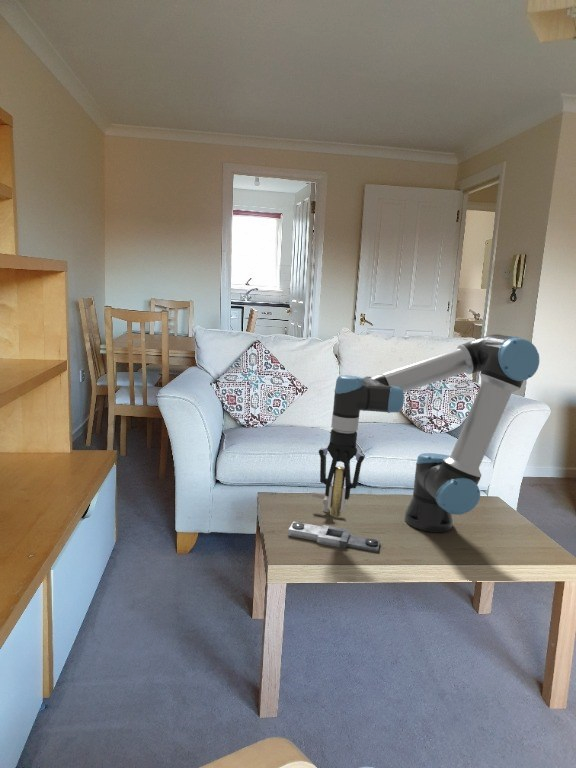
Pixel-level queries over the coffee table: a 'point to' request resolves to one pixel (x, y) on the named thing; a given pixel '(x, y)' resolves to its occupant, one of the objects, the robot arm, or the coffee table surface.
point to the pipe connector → (325, 501)
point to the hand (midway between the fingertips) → (336, 507)
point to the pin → (337, 491)
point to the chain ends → (332, 536)
